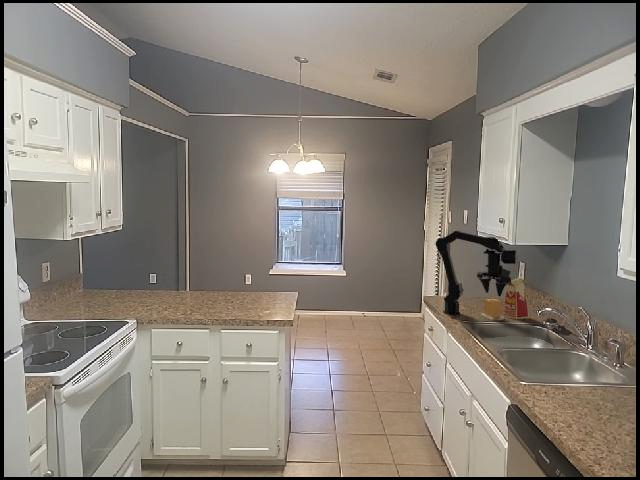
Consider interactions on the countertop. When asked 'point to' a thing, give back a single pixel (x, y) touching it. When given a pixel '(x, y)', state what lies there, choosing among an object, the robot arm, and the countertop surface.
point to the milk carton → (516, 300)
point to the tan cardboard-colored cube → (492, 307)
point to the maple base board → (493, 317)
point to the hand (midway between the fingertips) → (493, 294)
